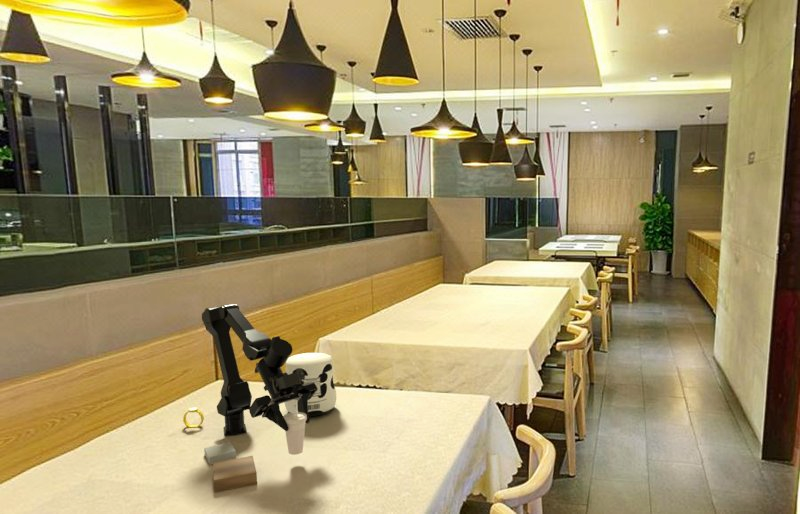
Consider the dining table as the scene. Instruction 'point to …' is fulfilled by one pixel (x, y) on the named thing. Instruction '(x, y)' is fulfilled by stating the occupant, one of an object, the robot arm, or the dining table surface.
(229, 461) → the walnut block
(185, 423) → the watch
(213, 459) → the grey tile
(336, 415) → the dining table surface
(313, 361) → the milk container
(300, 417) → the smoothie
